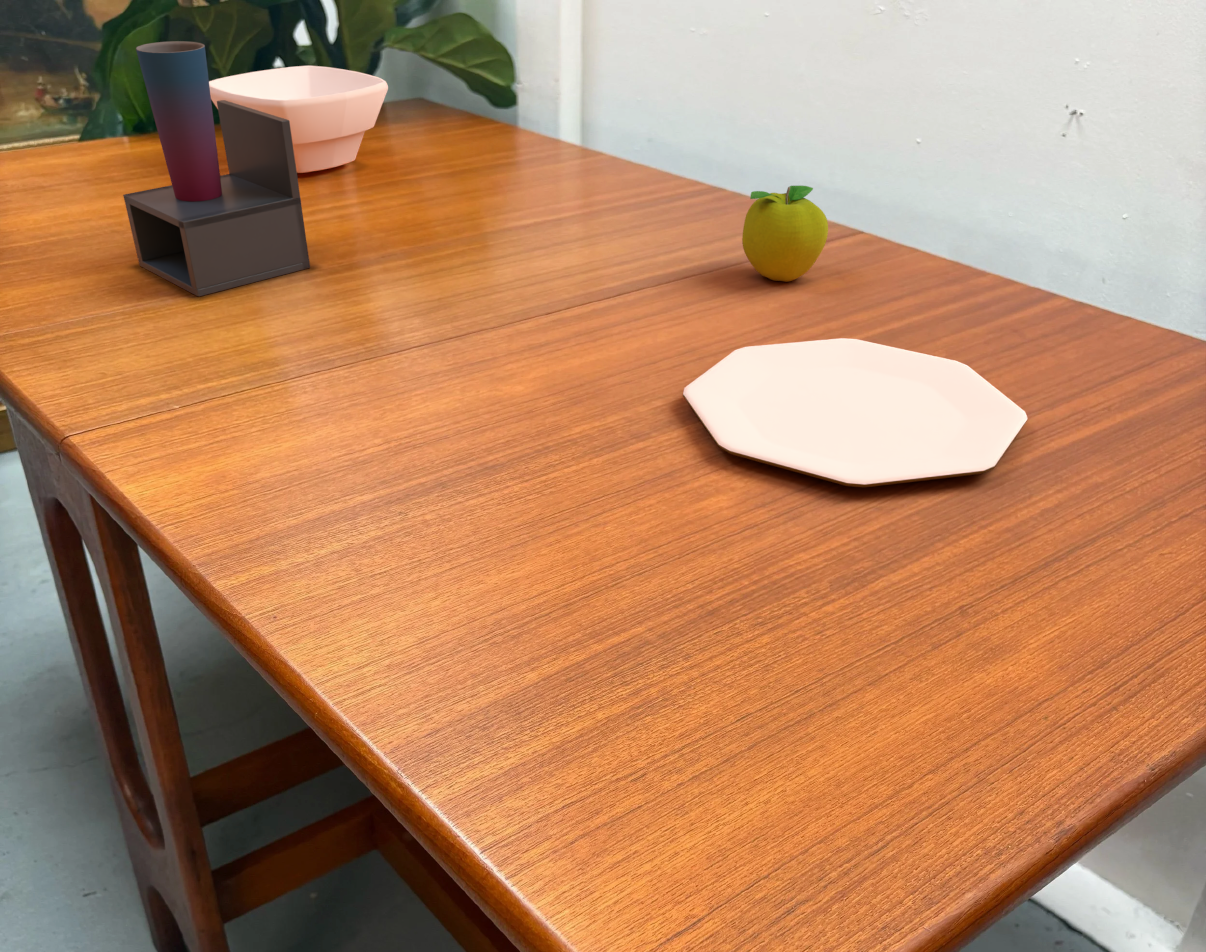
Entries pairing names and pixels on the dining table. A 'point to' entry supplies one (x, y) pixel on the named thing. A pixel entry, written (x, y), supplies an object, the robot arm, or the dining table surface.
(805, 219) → the fruit
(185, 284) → the dark grey toy chair
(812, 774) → the dining table surface
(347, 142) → the bowl
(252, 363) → the dining table surface
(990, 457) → the plate
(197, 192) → the cup
